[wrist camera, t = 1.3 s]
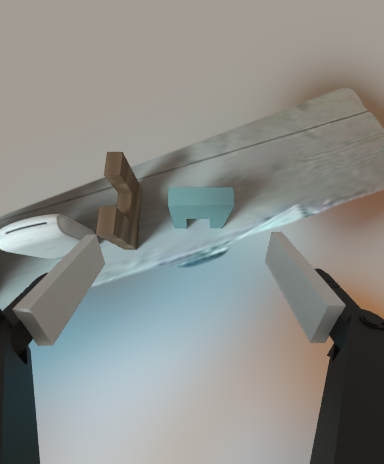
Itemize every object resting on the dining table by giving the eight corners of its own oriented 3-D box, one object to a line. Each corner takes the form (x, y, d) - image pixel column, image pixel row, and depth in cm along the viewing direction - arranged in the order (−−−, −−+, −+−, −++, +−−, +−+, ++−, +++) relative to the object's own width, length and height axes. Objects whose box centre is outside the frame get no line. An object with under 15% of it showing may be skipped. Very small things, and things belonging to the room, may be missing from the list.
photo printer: (48, 262, 38) (-17, 252, 26) (47, 242, 39) (-17, 223, 27) (99, 247, 39) (58, 231, 27) (96, 228, 40) (55, 204, 28)
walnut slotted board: (124, 249, 38) (95, 234, 27) (130, 188, 42) (107, 152, 31) (136, 249, 38) (113, 234, 27) (141, 188, 42) (122, 151, 31)
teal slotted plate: (174, 228, 40) (167, 205, 28) (175, 215, 40) (168, 187, 29) (222, 228, 40) (234, 205, 28) (221, 214, 41) (233, 187, 29)
